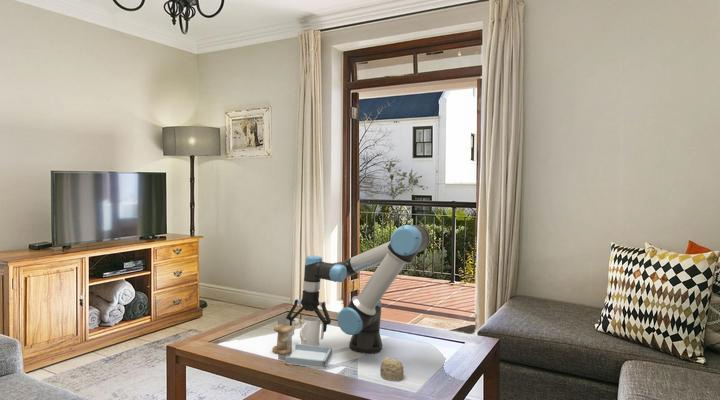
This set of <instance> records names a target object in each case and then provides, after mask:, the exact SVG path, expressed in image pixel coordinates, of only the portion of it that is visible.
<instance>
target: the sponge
mask: <svg viewBox="0 0 720 400" xmlns="http://www.w3.org/2000/svg"><path fill="white" fill-rule="evenodd" d="M404 371H405V370H404V364H403V363H402V361H400V360H399V359H398V358H394V357H389V356H386V357H384V358H383V359H382V361H381V364H380V369H379V372H380V377H381V378H382V379H384V380H385V381H388V382H399V381H402V379H404Z"/></svg>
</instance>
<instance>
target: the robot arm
mask: <svg viewBox="0 0 720 400" xmlns="http://www.w3.org/2000/svg"><path fill="white" fill-rule="evenodd" d="M430 242H431V235H430V233H429V231H428V230H427V228H426V227H424V226H422V225H420V224H406V225H401V226H400V227H397V228H396V229H395V230H394V231H393V232H392V234H391V236H390V241H388V242H385V243H382V244H380V245H377V246H375V247H373V248H371V249H368V250H366V251H363V252H361V253H359V254H357V255H355V256H352V257H350V258H347V259H345V260H343V261H337V262H331V263H330V262H327V261H323V257H322V256H319V255H307V256H306V257H305V262H304V270H303V271H304V274H303V282H302V289H303V290H302V294H301V295H302V297H301V299H299V298H296V299H295V300H294V303H293V305H292V307H291V308H290V310H289V312H288V314H287V315H286V317H285V318H286V319H287V320H288V321H289V325H290V326H292V327H293V330H292V331H291V332H290V336H291V337H294V335H295V330H296V328H295V327H296V319H295V318H297V316H299V315H300V314H301V313H302V312H303V311H304V310H305V311H306V312H314V313H315V314H316V316H317V317H318V318H320V322H322V324H321V327H320V340H323V339H324V334H325V332H327V327H328V325H330V324H331V323H332V320H331V317H330V315H329V311H328V309H327V307H326V301H322V302H320V300H319V299H320V291H319V290H320V288H321V280H325V281H330V282H335V283H336V282H337V283H342V282H344V281H345V280H346V278H349V277H352V276H354V275H356V274H358V273H360V272H362V271H365V270H368V269H371V268H372V267H373V268H374V267H375V266H377V268H376V269H375V271H374V272H373V273H372V275H371V276H370V277H369V280H368V281H367V282H366V284H365V285H364V287H363V288H362V289H361V291H360V292H359V294H358V295H354V296H352V298H351V300H350V301H349V302H348V304H347V305H346V307H343V308H342V309H341V310H340V311H338V314H337V319H336V320H337V324H338V327H339V328H340V330H341V331H342V332H343V333H344V334H346V335H348V336H350V337H351V338H350V339H349V345H348V348H349V349H350V350H351V351H352V352H355V353H358V354H359V353H360V354H365V355H367V354H368V355H374V354H378V353H381V352H382V351H383V342H382V337H381V333H380V331H381V330H380V327H381V319H382V318H381V316H382V300H381V299H382V298H383V297H384V295H385V294H386V292H387V291H388V290H389V288H390V287H391V285H392V284H393V283H394V281H395V280H396V278H397V277H398V275H399V274H400V273H401V271H402V270H403V268H404V267H405V265H408V264H411V263H412V262H413V260H414V258H416V256H417V254H418V253H420V252H423V251H425V250H426V249H427V248H428V247H429V244H430ZM299 304H300V305H301V307H300V309H298V310H297V312H295V314H294V315H292V314H293V313H294V311H295V310H296V308H297V307H298V305H299ZM319 306H320V308H321V310H322V312H323V314H322V312H321V310H320V309H319ZM381 350H382V351H381ZM380 351H381V352H380Z"/></svg>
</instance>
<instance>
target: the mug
mask: <svg viewBox="0 0 720 400" xmlns="http://www.w3.org/2000/svg"><path fill="white" fill-rule="evenodd" d="M320 335H321V320H320V318H319V317H318V316H304V317H303V318H302V324H301V328H300V331H299V338H300V344H304V345H313V346H320Z"/></svg>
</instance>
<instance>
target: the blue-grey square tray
mask: <svg viewBox="0 0 720 400" xmlns="http://www.w3.org/2000/svg"><path fill="white" fill-rule="evenodd" d="M289 355H290V356H287V355H286V356H284V359H285V360H284V364H285V363H287V364H295V365H300V366H299V367H301V366H306V367H305V368H313V369H320V370H325V368H326V366H327V364H328V363H329V361H330V359H331V358H332V355H333V347H329V346H322V345H321V346H320V345H319V346H313V345H304V344H301V343H295V347H294V350H293V352H292V353H291V354H289Z"/></svg>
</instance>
